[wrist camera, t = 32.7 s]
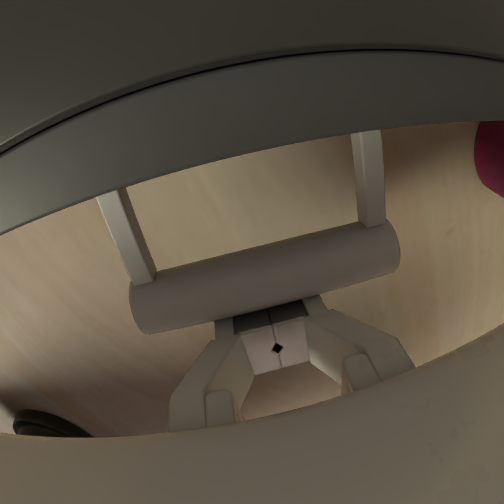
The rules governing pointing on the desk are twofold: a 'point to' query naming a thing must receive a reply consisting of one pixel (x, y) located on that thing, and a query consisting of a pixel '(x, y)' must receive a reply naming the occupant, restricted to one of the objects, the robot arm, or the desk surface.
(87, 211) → the desk surface
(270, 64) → the drawer
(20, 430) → the light fixture
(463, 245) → the desk surface
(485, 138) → the cup
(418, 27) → the cabinet
